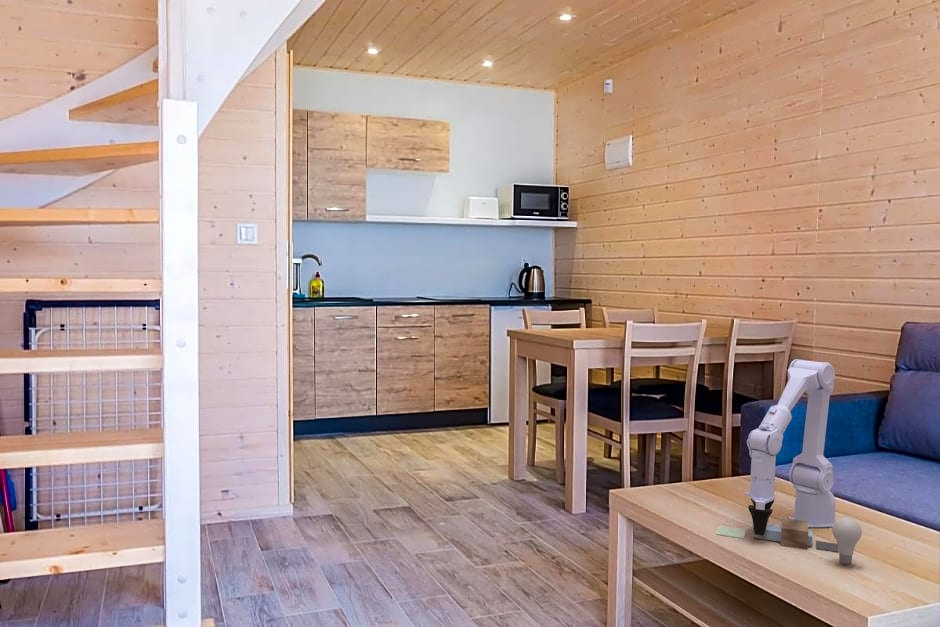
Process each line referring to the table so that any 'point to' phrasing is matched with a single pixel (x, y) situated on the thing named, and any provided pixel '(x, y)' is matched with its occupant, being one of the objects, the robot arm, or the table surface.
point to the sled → (777, 533)
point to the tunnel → (794, 533)
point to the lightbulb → (846, 537)
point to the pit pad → (827, 546)
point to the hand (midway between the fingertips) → (760, 530)
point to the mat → (730, 532)
